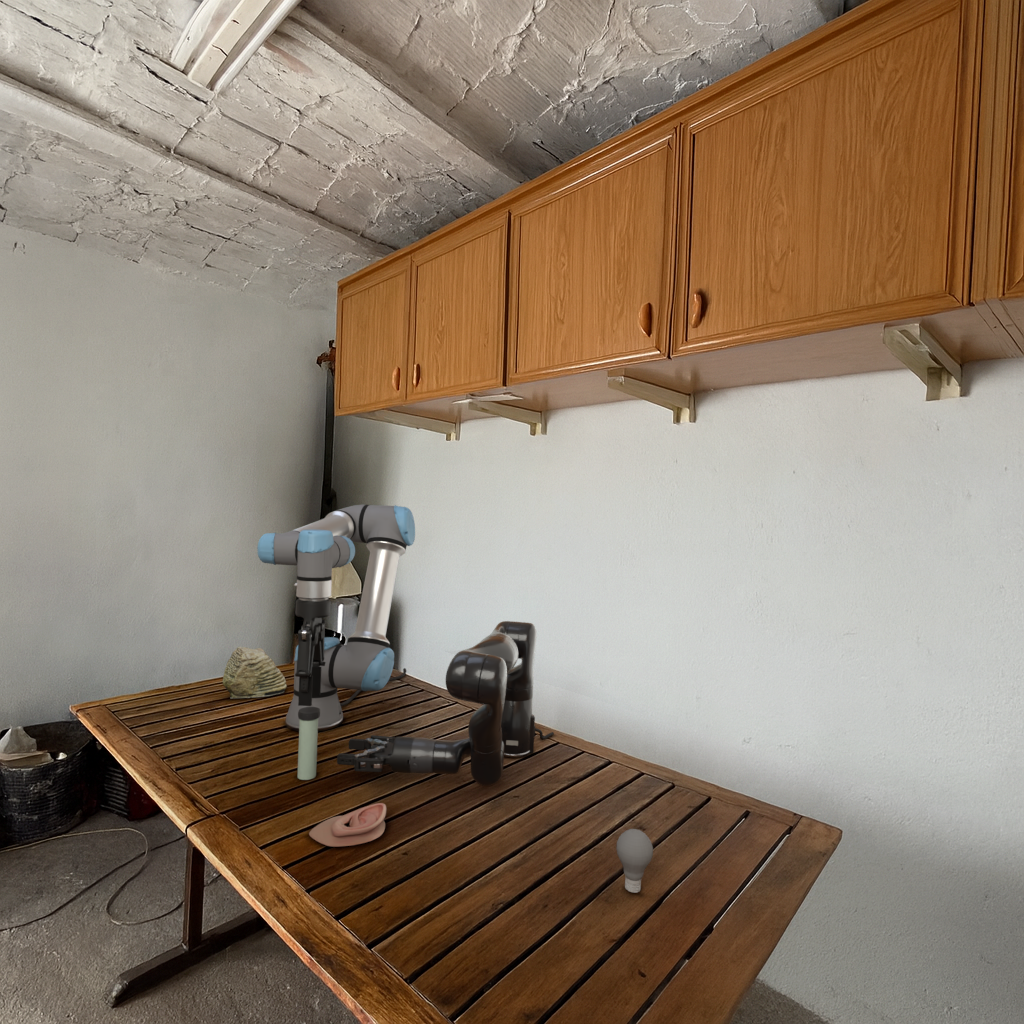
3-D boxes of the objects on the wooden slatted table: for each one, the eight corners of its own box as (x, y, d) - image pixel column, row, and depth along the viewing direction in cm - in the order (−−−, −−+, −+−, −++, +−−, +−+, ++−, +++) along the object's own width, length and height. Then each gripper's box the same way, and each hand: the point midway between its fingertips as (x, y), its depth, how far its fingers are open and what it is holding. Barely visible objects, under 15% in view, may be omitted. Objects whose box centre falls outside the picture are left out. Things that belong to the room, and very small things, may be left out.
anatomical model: (301, 820, 116) (331, 792, 127) (300, 842, 116) (330, 812, 127) (368, 831, 113) (393, 801, 124) (368, 853, 113) (392, 821, 124)
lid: (307, 722, 140) (307, 715, 140) (293, 717, 142) (293, 710, 142) (324, 716, 144) (324, 709, 144) (310, 712, 146) (310, 705, 146)
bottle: (305, 781, 140) (307, 716, 140) (293, 776, 143) (296, 712, 142) (319, 775, 144) (322, 711, 143) (308, 770, 146) (310, 707, 146)
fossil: (218, 695, 195) (220, 647, 195) (278, 685, 208) (279, 640, 207) (228, 703, 189) (230, 653, 188) (289, 692, 201) (290, 645, 201)
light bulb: (610, 879, 108) (613, 822, 108) (644, 879, 109) (647, 822, 109) (619, 902, 102) (622, 840, 102) (655, 901, 103) (658, 840, 103)
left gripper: (308, 591, 152) (305, 686, 153) (282, 605, 132) (278, 714, 133) (340, 592, 152) (336, 687, 153) (318, 606, 133) (314, 715, 133)
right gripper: (421, 727, 149) (353, 723, 150) (409, 751, 135) (334, 746, 135) (419, 758, 149) (351, 754, 150) (407, 786, 135) (332, 781, 135)
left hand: (309, 699), depth 143 cm, fingers open, 7 cm apart
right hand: (343, 751), depth 143 cm, fingers open, 8 cm apart
